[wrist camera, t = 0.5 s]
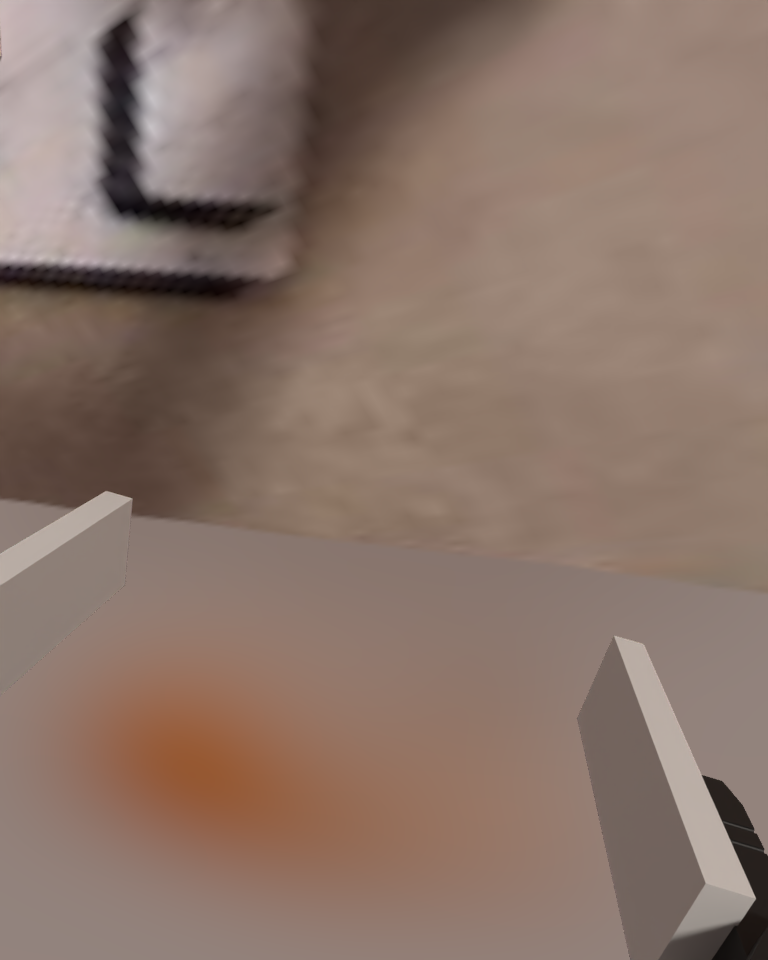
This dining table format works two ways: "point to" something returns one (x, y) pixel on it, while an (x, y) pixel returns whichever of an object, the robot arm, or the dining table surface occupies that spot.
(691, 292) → the dining table surface
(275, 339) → the dining table surface
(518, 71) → the dining table surface
